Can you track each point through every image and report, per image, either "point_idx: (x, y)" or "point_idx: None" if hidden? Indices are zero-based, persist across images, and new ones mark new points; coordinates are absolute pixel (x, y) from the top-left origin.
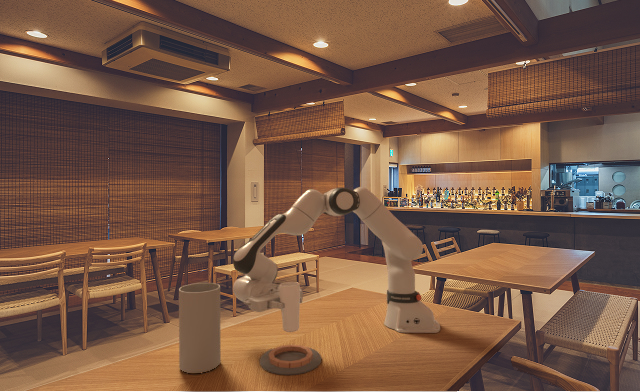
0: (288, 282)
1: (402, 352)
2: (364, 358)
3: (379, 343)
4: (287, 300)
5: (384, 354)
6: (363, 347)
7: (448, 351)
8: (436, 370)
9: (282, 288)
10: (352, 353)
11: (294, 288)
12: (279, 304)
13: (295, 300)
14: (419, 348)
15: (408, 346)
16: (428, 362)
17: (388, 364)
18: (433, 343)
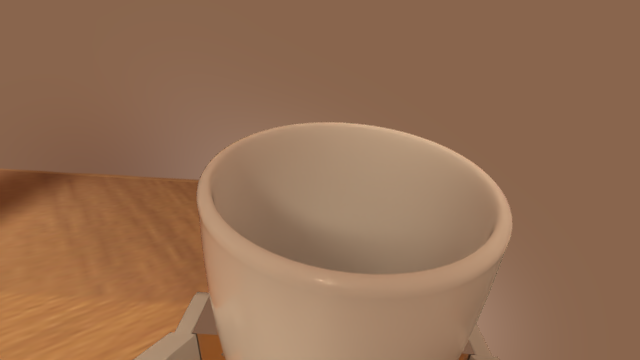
0: (244, 239)
1: (91, 249)
2: (161, 297)
3: (10, 314)
4: (413, 264)
5: (115, 272)
6: (59, 338)
7: (71, 199)
8: (175, 196)
9: (480, 203)
10: (129, 341)
11: (367, 150)
12: (475, 337)
13: (349, 239)
14: (56, 233)
15: (40, 251)
16: (142, 208)
17: (179, 248)
18: (14, 223)
